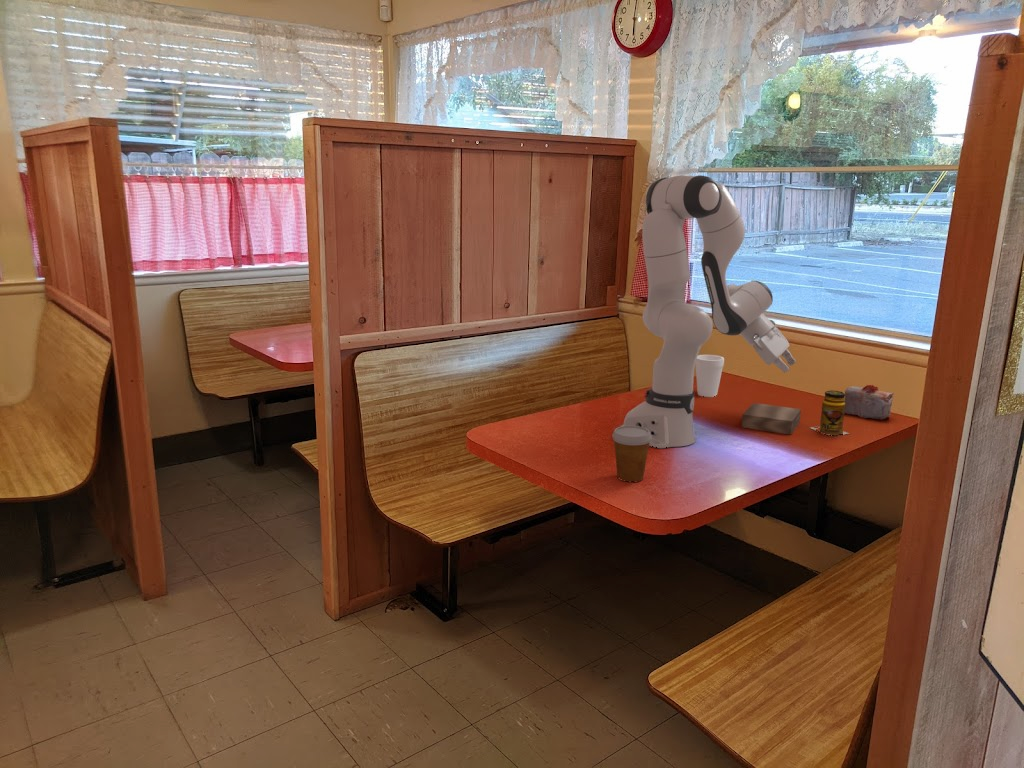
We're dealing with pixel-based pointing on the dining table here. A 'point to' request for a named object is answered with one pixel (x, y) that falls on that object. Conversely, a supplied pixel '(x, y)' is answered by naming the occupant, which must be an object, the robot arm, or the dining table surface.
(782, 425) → the base
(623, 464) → the disposable coffee cup
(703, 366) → the foam cup
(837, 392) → the condiment
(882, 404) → the food item
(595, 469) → the dining table surface
